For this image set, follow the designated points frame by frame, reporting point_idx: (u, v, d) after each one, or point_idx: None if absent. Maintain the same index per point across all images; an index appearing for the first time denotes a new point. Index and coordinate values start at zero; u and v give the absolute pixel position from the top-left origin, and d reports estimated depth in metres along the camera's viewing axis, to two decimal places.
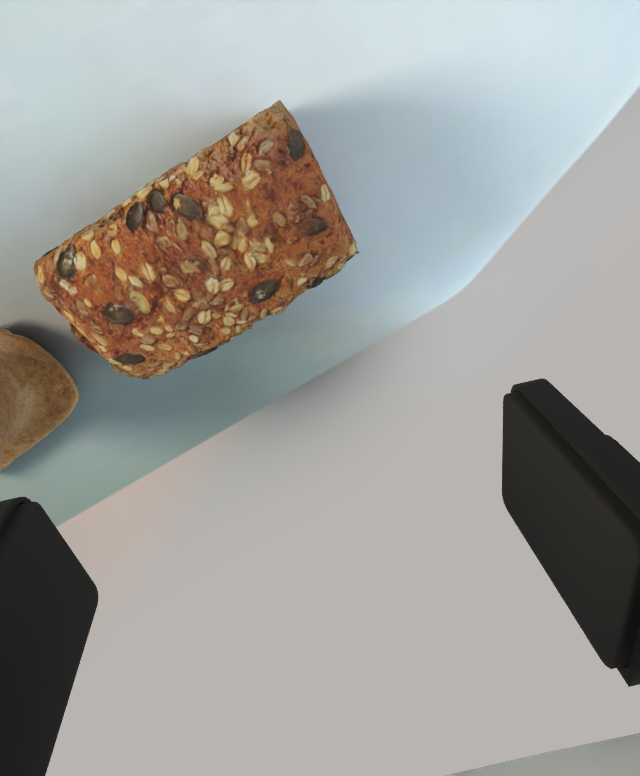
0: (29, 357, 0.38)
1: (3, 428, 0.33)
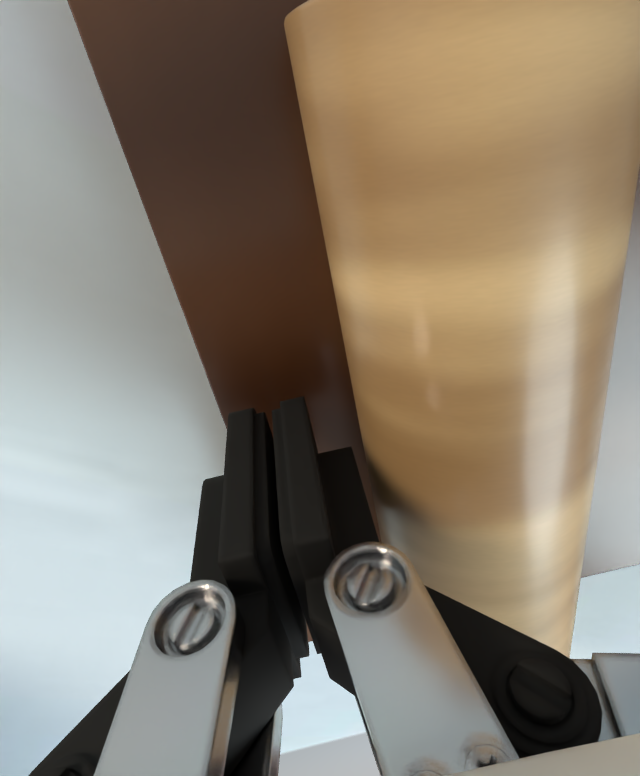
0: None
1: None
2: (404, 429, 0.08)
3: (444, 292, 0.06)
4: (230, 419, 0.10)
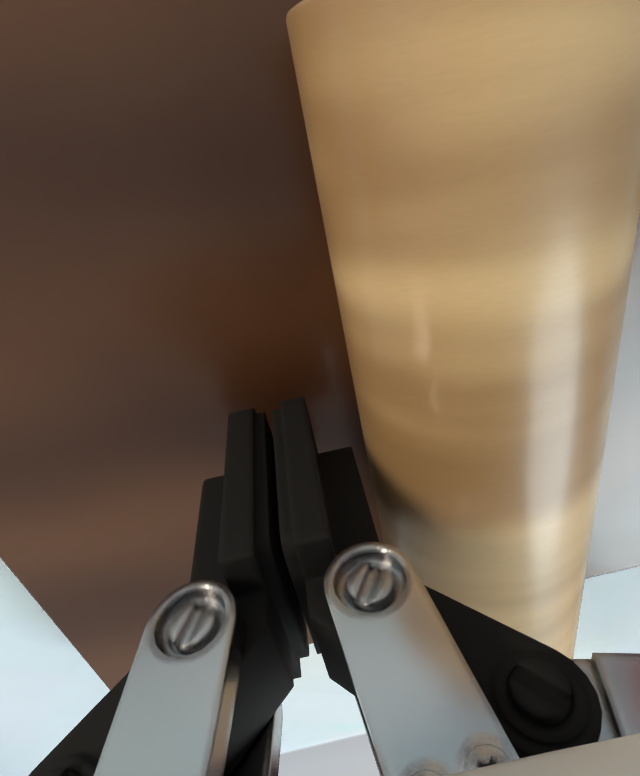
0: None
1: None
2: (406, 431, 0.08)
3: (449, 291, 0.06)
4: (230, 419, 0.10)
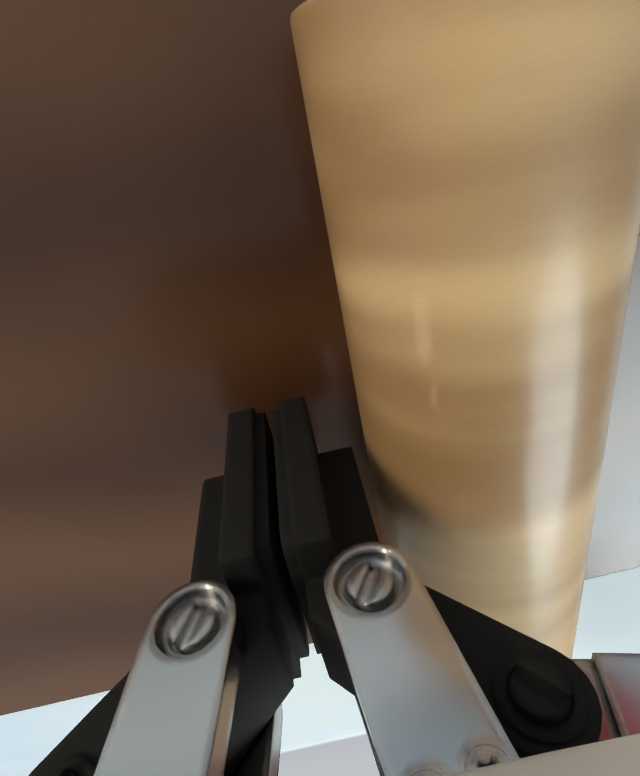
0: None
1: None
2: (408, 431, 0.08)
3: (451, 292, 0.06)
4: (230, 419, 0.10)
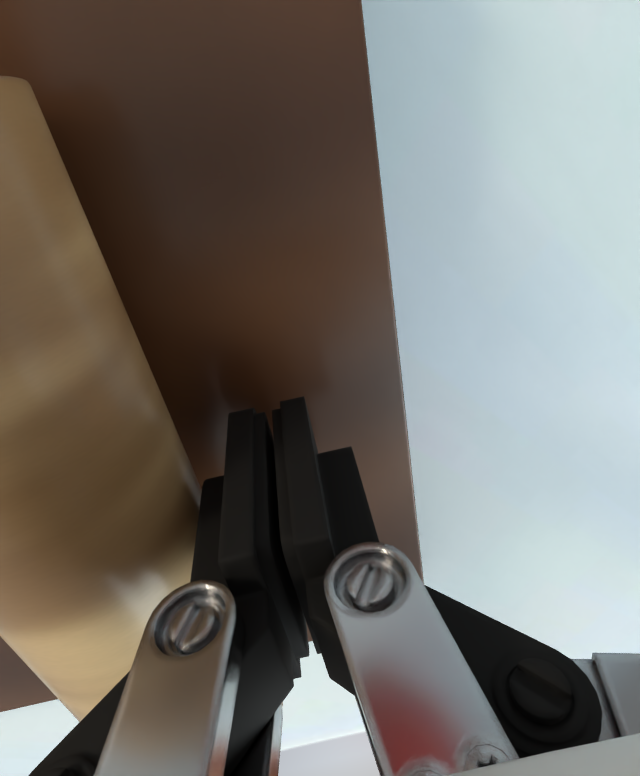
0: None
1: None
2: None
3: None
4: (230, 419, 0.10)
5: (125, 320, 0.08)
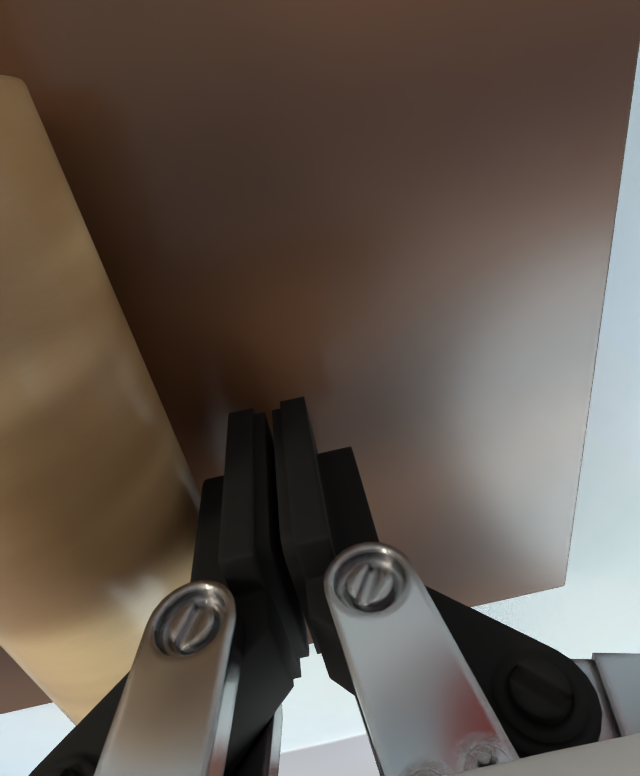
0: None
1: None
2: None
3: None
4: (230, 419, 0.10)
5: (122, 322, 0.08)
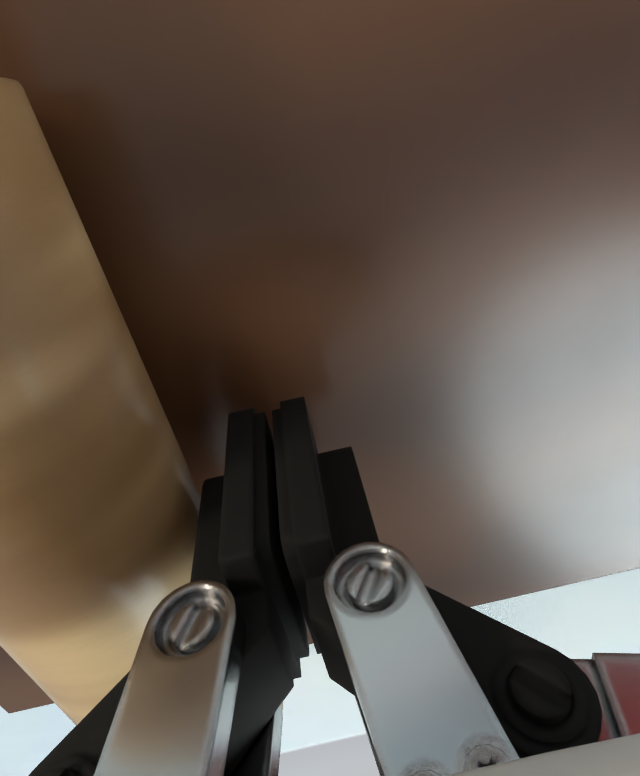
0: None
1: None
2: None
3: None
4: (230, 419, 0.10)
5: (120, 323, 0.08)
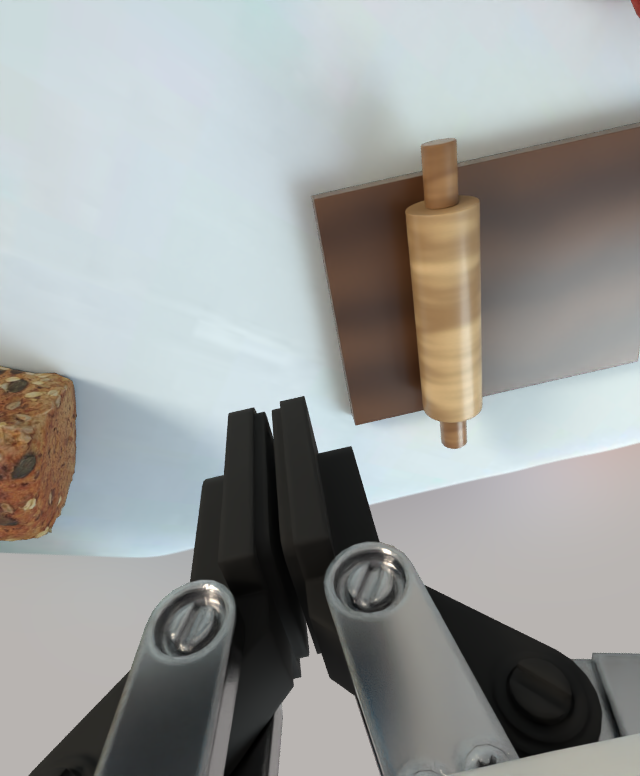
0: None
1: None
2: (429, 303, 0.31)
3: (438, 268, 0.29)
4: (230, 419, 0.10)
5: None
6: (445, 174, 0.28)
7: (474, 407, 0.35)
